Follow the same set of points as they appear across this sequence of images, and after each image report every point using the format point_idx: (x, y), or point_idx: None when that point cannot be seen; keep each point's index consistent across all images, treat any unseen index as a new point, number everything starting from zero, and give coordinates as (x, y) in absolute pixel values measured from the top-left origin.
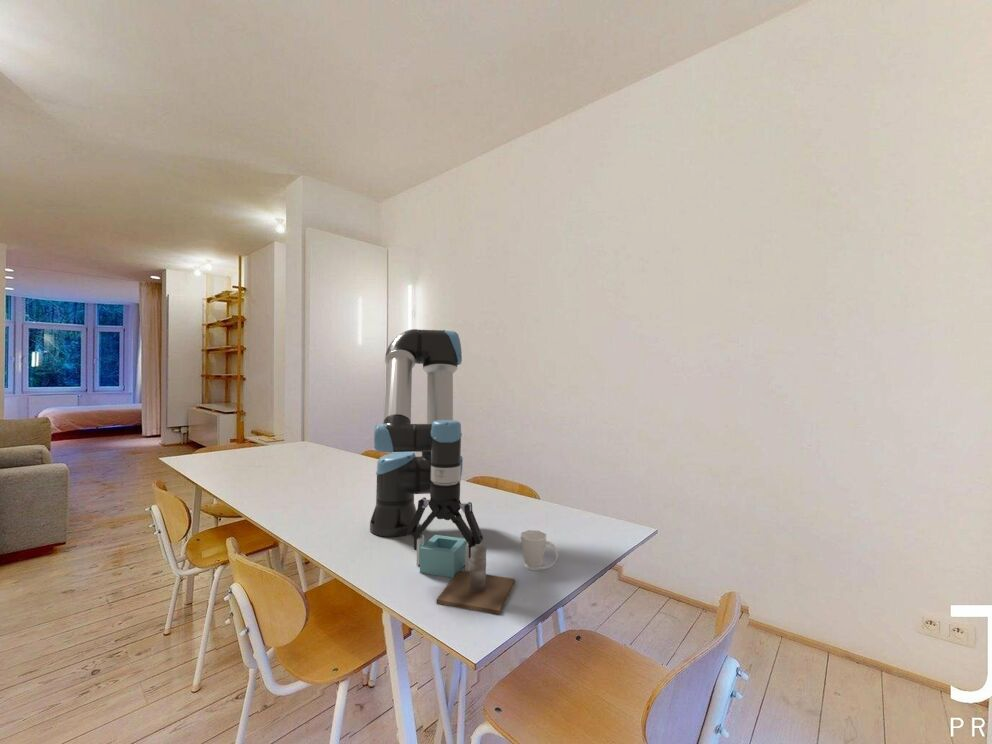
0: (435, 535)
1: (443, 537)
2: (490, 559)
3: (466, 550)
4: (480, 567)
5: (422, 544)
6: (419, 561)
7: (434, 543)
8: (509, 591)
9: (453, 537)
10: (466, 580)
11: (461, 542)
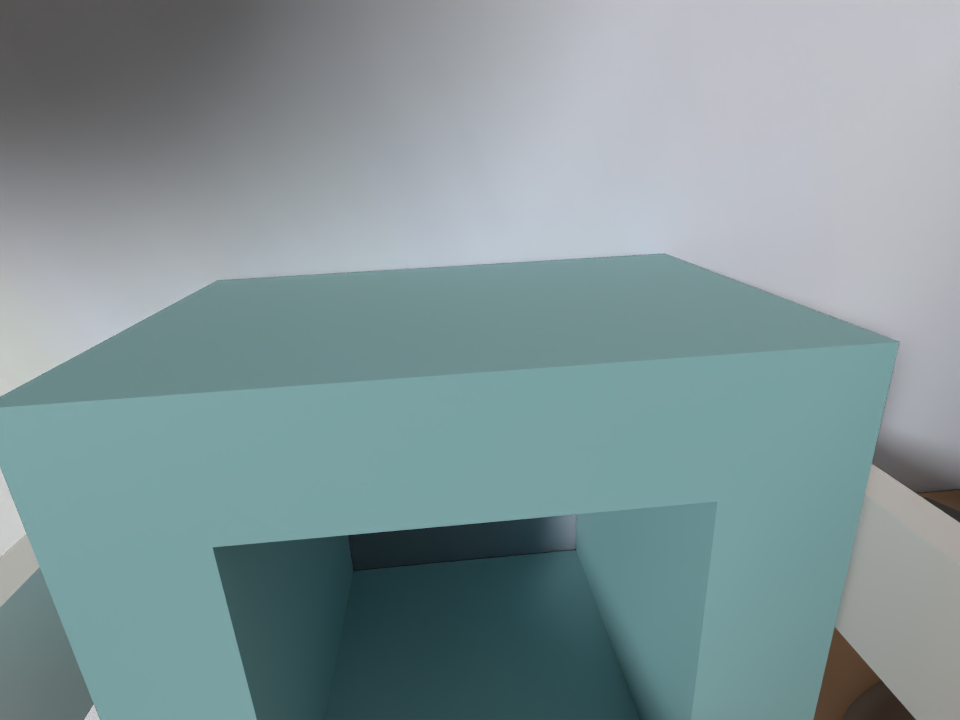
0: (30, 452)
1: (306, 477)
2: (954, 59)
3: (917, 700)
4: None
5: (27, 656)
6: None
7: (268, 689)
8: None
9: (546, 387)
10: None
11: (808, 557)
